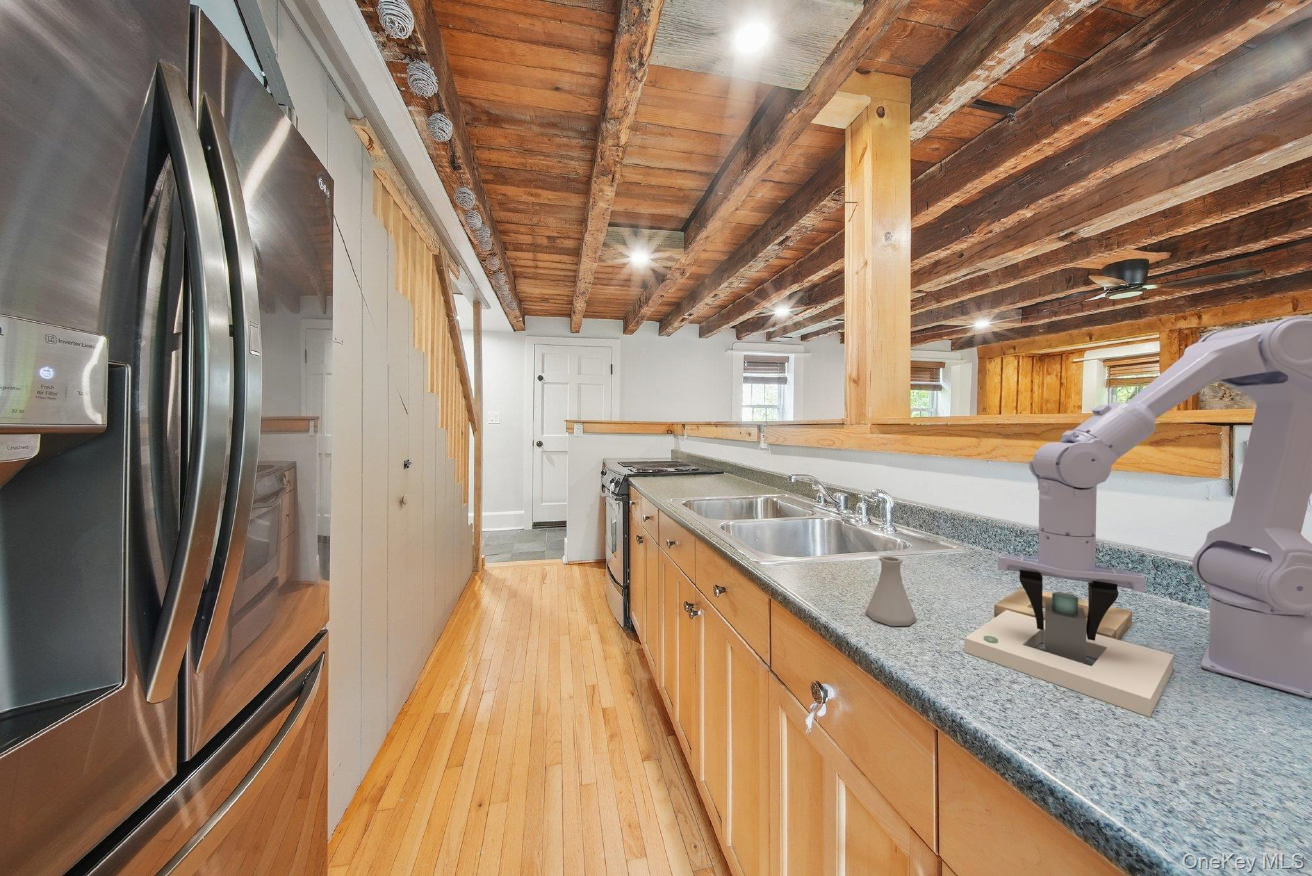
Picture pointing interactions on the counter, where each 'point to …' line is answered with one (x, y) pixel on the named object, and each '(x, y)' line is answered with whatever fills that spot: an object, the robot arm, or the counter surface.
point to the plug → (1065, 627)
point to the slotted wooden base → (1110, 624)
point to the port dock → (1113, 678)
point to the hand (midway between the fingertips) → (1064, 631)
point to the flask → (890, 596)
